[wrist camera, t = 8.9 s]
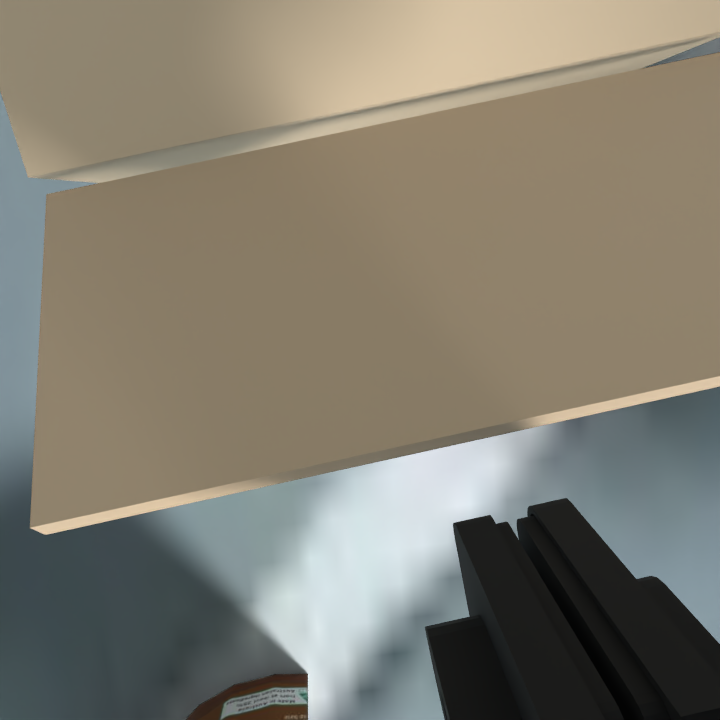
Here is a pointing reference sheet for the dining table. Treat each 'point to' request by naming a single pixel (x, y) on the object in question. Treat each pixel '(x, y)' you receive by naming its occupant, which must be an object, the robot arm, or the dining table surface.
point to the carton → (294, 68)
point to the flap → (378, 293)
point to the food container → (259, 700)
